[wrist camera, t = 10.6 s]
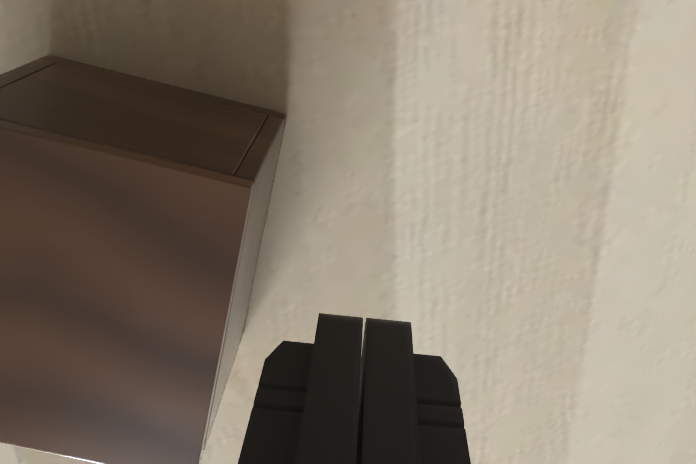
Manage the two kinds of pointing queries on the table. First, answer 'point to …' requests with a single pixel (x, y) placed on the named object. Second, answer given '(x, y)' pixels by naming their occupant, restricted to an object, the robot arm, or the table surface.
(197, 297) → the lid
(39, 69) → the chest
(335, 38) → the table surface
